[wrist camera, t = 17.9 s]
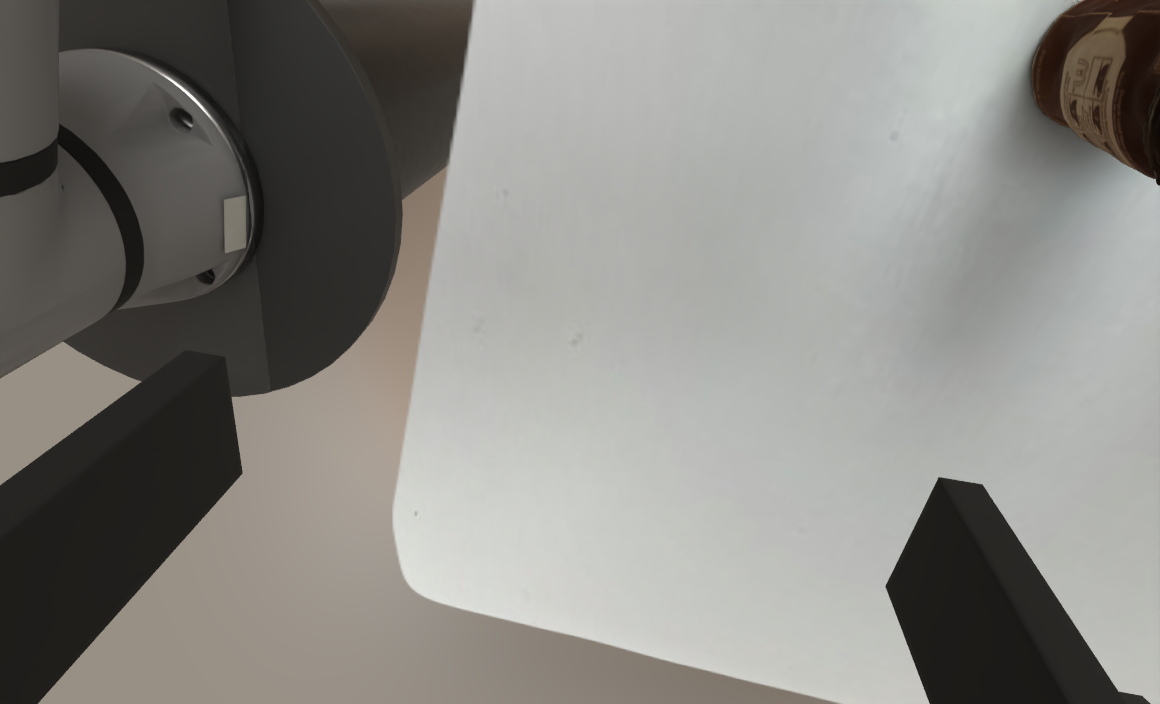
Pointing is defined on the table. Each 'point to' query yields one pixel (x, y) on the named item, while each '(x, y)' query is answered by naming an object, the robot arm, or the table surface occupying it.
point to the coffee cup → (1105, 78)
